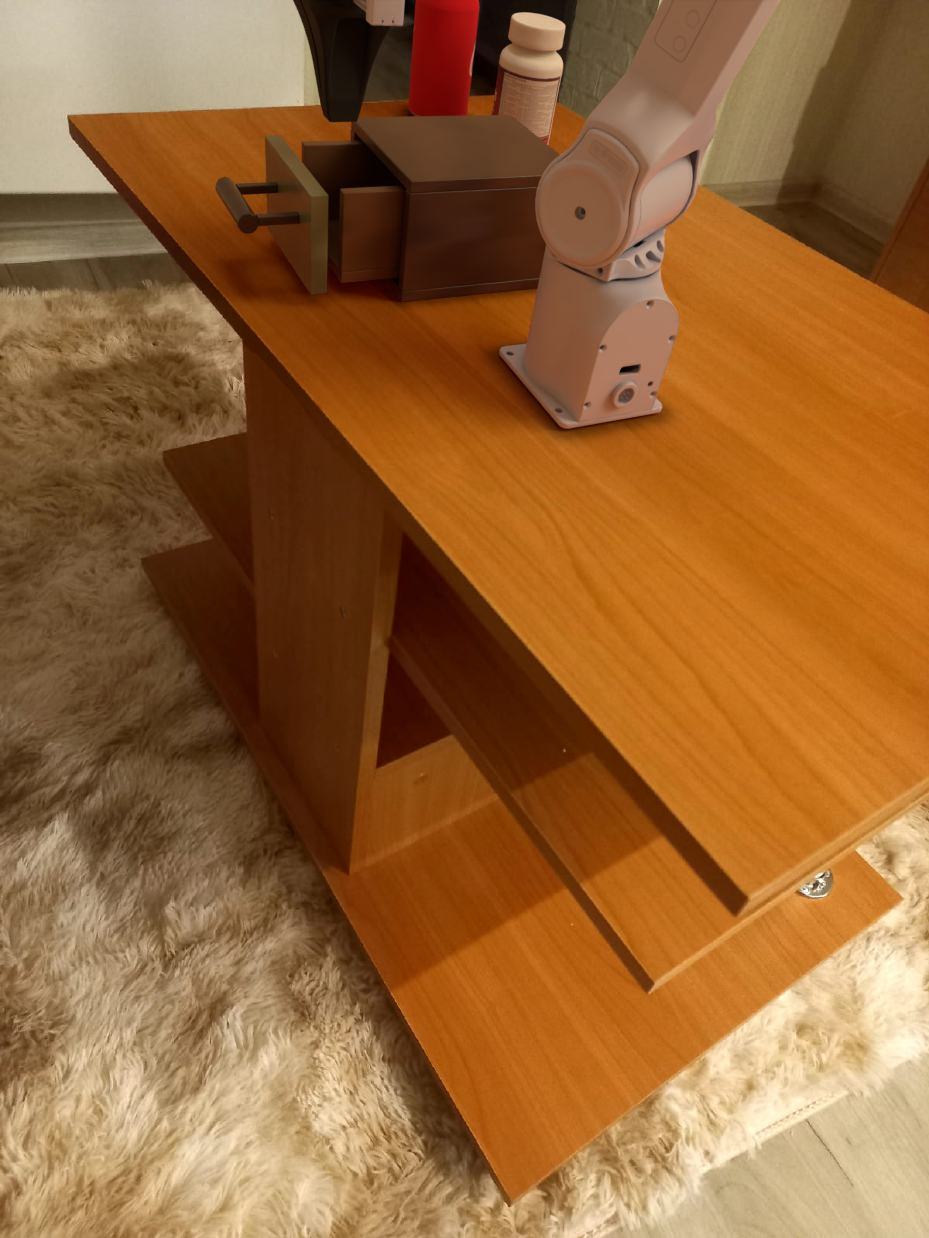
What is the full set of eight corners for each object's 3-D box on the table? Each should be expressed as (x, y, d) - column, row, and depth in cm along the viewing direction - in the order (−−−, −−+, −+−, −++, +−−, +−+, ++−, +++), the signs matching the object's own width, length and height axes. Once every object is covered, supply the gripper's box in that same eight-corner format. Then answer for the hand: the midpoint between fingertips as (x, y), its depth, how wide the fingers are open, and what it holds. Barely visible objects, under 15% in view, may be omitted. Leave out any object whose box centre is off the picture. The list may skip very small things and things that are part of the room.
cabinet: (401, 302, 64) (411, 181, 58) (347, 232, 71) (351, 117, 65) (558, 286, 69) (583, 173, 63) (494, 222, 76) (511, 114, 70)
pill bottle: (498, 134, 91) (517, 6, 83) (554, 149, 90) (578, 21, 82) (478, 151, 87) (496, 18, 79) (536, 168, 86) (560, 35, 78)
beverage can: (468, 114, 94) (484, -20, 85) (463, 133, 90) (479, -6, 81) (411, 104, 94) (422, -32, 85) (403, 123, 90) (413, -18, 81)
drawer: (250, 301, 60) (245, 199, 55) (211, 233, 66) (204, 136, 61) (469, 280, 66) (481, 187, 61) (415, 220, 72) (423, 131, 67)
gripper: (240, -173, 52) (251, 82, 62) (321, -122, 44) (319, 163, 54) (351, -161, 55) (345, 81, 65) (448, -111, 47) (424, 158, 56)
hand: (340, 118), depth 59 cm, fingers closed
